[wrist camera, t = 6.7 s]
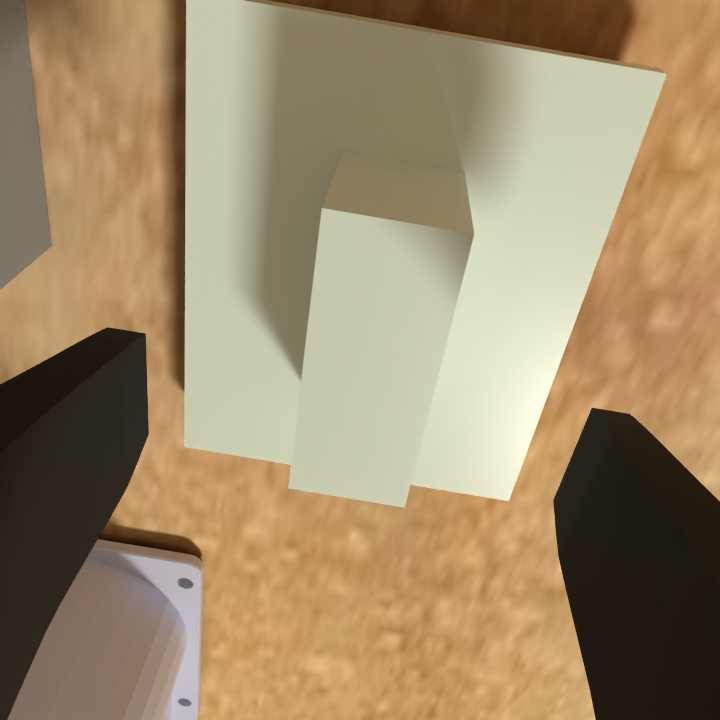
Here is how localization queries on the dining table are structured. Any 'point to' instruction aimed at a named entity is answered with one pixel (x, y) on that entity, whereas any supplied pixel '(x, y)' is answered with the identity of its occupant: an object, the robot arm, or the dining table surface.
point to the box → (19, 151)
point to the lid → (389, 240)
